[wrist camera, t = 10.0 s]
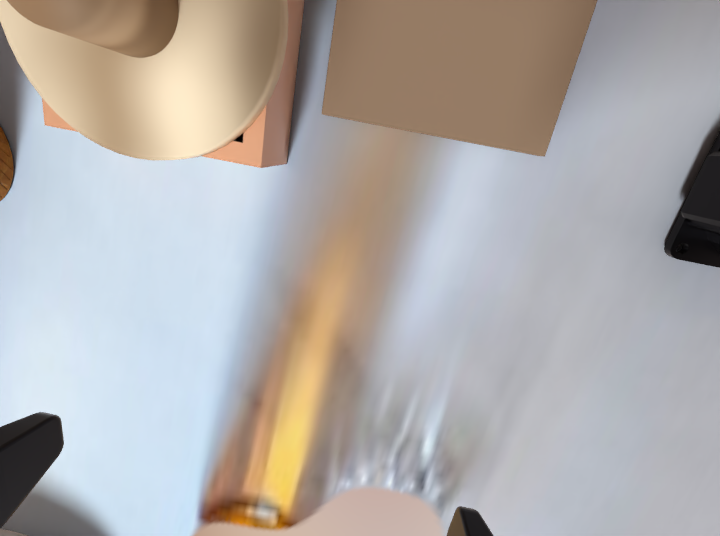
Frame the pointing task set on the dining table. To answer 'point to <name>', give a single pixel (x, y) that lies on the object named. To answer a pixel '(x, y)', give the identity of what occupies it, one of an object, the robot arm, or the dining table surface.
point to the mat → (457, 67)
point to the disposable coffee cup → (5, 165)
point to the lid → (151, 68)
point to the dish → (272, 127)
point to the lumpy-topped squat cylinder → (10, 533)
